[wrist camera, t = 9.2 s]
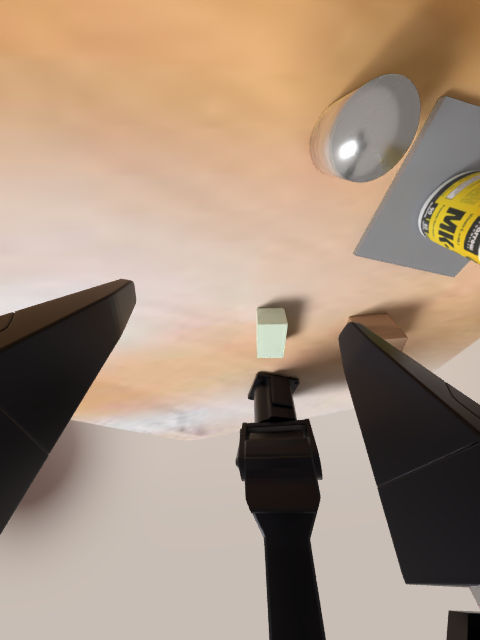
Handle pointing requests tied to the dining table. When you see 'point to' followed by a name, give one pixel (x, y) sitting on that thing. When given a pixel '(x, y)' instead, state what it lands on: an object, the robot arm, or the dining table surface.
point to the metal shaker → (367, 129)
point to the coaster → (425, 190)
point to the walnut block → (383, 328)
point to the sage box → (271, 332)
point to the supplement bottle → (454, 215)
